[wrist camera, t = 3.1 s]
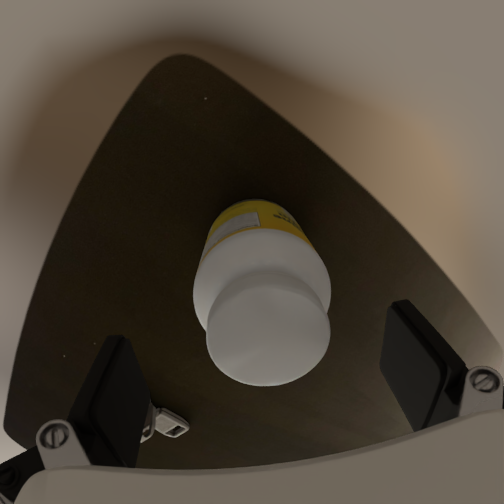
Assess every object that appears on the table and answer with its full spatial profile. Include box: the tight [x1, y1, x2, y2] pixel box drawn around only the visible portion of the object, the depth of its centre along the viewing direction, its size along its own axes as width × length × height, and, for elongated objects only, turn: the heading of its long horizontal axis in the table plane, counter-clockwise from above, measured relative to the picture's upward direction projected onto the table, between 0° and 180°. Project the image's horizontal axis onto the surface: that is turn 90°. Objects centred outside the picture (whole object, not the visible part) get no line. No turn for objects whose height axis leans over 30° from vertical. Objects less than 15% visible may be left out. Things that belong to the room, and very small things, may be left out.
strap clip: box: [140, 399, 189, 443], centre depth 26 cm, size 8×3×4 cm, turn 45°
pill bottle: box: [193, 199, 331, 386], centre depth 17 cm, size 6×6×12 cm
